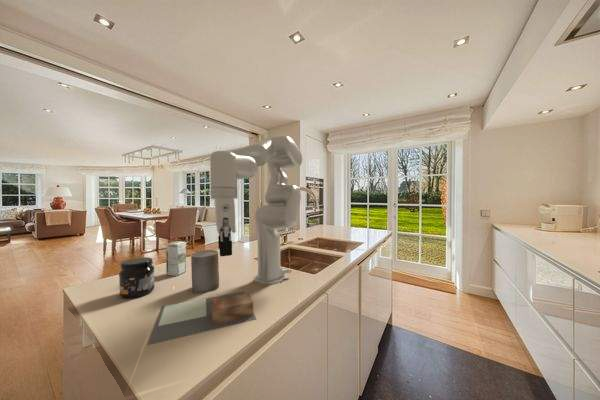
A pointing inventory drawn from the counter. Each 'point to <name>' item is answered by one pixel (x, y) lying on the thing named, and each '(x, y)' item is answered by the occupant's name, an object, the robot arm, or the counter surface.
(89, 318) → the counter surface
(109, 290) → the counter surface
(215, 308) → the brown rectangular block
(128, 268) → the supplement container
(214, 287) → the pillar candle
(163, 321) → the mat
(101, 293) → the counter surface
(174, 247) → the syrup box
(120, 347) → the counter surface
